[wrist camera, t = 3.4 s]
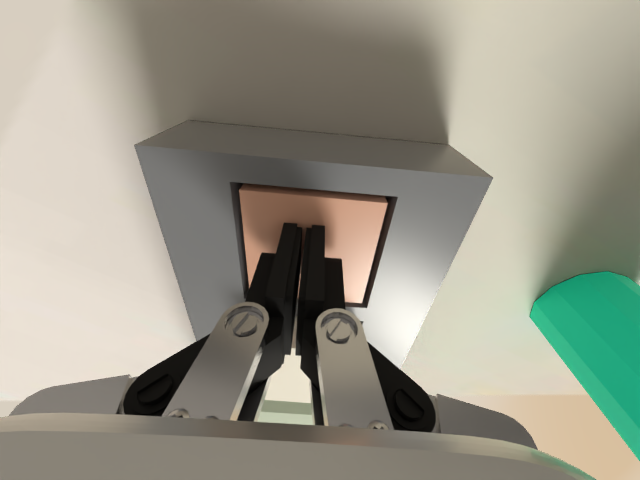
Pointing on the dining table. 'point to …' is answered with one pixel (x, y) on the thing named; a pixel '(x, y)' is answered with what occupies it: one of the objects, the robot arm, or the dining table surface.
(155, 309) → the dining table surface
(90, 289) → the dining table surface
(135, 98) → the dining table surface
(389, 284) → the keypad
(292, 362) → the key cream
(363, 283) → the key terracotta
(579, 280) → the candle
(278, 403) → the key sage
